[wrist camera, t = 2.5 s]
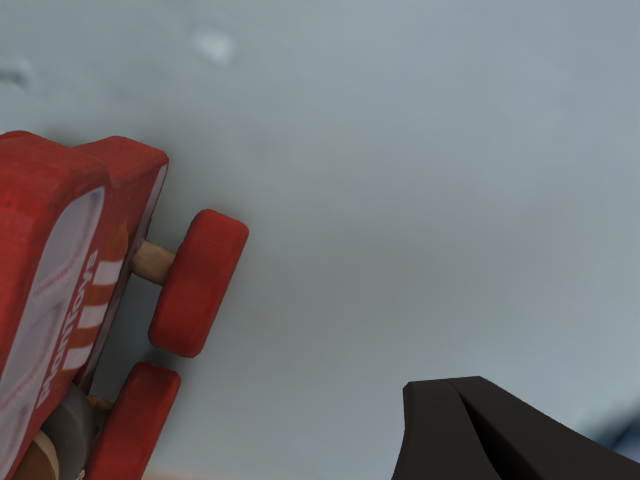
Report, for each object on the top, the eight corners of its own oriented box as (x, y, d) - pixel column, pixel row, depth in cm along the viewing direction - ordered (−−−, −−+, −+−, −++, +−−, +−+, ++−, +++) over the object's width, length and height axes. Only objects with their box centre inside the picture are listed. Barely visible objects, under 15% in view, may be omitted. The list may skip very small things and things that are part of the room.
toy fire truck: (-64, 427, 20) (-460, 773, 10) (60, 75, 17) (-295, 34, 7) (134, 501, 20) (-37, 893, 10) (278, 174, 18) (242, 264, 8)
